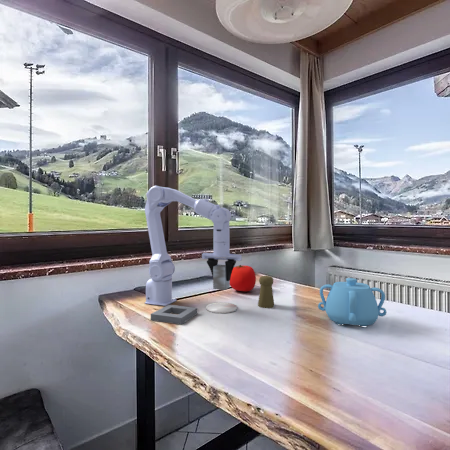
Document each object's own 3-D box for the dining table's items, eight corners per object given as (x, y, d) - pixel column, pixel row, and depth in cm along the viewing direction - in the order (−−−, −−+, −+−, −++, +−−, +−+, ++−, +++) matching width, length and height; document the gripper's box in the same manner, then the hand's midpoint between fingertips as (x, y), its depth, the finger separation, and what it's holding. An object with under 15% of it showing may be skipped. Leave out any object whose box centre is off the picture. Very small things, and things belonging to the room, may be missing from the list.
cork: (274, 308, 114) (274, 278, 113) (257, 307, 115) (257, 277, 115) (274, 303, 120) (274, 274, 119) (258, 303, 121) (258, 274, 120)
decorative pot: (354, 311, 111) (354, 272, 110) (392, 326, 95) (392, 281, 95) (313, 316, 105) (314, 275, 105) (347, 333, 90) (347, 285, 90)
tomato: (262, 289, 142) (262, 264, 142) (247, 296, 130) (247, 268, 130) (238, 286, 149) (238, 261, 148) (222, 292, 137) (222, 266, 137)
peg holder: (150, 320, 102) (150, 313, 102) (169, 310, 112) (169, 304, 112) (181, 324, 98) (181, 318, 98) (197, 313, 108) (197, 307, 108)
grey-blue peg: (213, 289, 112) (213, 266, 112) (218, 286, 117) (218, 264, 116) (225, 290, 111) (225, 267, 110) (229, 287, 115) (229, 265, 115)
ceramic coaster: (201, 311, 111) (201, 309, 111) (213, 302, 121) (213, 301, 121) (230, 314, 107) (230, 313, 107) (241, 305, 117) (241, 304, 117)
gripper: (198, 242, 112) (198, 280, 113) (237, 243, 107) (237, 283, 107) (206, 240, 119) (206, 276, 119) (243, 241, 113) (243, 279, 114)
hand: (221, 279), depth 114 cm, fingers closed on grey-blue peg, 4 cm apart
